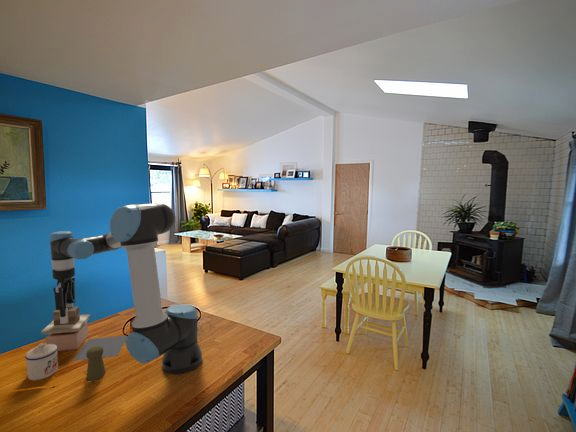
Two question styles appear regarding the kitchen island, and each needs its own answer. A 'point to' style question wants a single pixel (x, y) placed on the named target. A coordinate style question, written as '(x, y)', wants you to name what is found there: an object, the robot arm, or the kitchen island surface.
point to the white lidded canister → (42, 361)
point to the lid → (74, 323)
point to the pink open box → (68, 339)
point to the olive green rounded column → (95, 364)
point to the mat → (108, 344)
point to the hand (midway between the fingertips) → (67, 320)
